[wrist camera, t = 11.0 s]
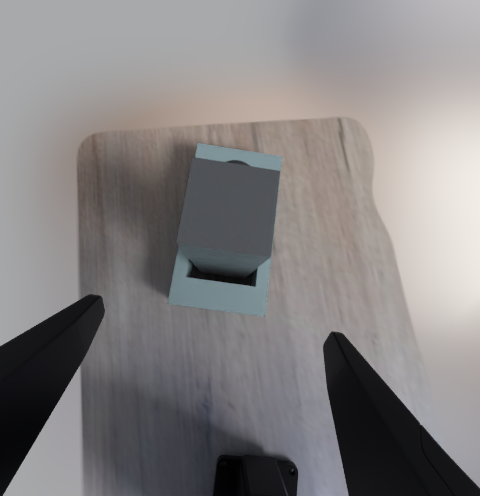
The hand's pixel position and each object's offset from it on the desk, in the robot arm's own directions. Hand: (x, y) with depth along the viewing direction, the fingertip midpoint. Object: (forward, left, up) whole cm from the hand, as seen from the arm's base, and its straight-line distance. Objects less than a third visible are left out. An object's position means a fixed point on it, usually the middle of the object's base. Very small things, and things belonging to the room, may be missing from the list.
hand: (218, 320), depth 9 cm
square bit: (+5, 0, -13) cm, 13 cm away
